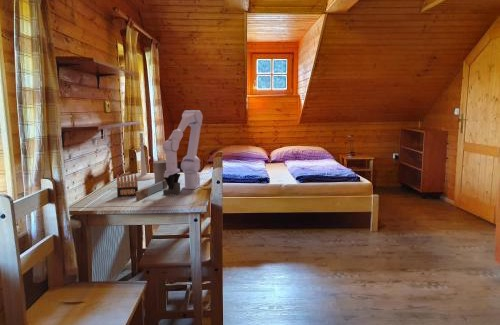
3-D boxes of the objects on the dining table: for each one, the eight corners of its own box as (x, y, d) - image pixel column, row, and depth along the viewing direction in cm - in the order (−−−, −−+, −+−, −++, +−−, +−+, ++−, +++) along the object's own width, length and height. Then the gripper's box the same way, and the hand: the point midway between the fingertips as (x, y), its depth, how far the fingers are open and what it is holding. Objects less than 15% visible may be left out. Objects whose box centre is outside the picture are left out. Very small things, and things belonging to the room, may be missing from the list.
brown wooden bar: (165, 187, 220) (164, 178, 219) (167, 187, 220) (166, 178, 219) (136, 200, 192) (135, 190, 191) (138, 200, 191) (138, 191, 190)
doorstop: (180, 193, 204) (179, 182, 203) (177, 195, 201) (176, 184, 200) (167, 192, 207) (166, 182, 206) (163, 194, 203) (162, 183, 202)
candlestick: (136, 181, 239) (132, 133, 234) (132, 177, 250) (128, 132, 245) (156, 179, 245) (153, 132, 240) (151, 175, 256) (148, 131, 251)
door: (161, 188, 216) (160, 181, 215) (162, 188, 215) (162, 181, 215) (146, 195, 201) (146, 187, 200) (148, 195, 200) (147, 187, 200)
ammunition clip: (117, 197, 199) (115, 175, 197) (117, 196, 201) (116, 174, 199) (138, 196, 201) (136, 173, 199) (138, 195, 203) (137, 173, 201)
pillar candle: (173, 181, 235) (171, 157, 232) (168, 185, 225) (166, 160, 223) (157, 182, 236) (156, 158, 233) (152, 185, 226) (150, 160, 224)
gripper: (171, 160, 209) (172, 184, 211) (157, 165, 195) (159, 190, 197) (182, 161, 207) (184, 185, 209) (170, 165, 193) (171, 191, 195)
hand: (172, 188), depth 203 cm, fingers closed on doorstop, 4 cm apart
